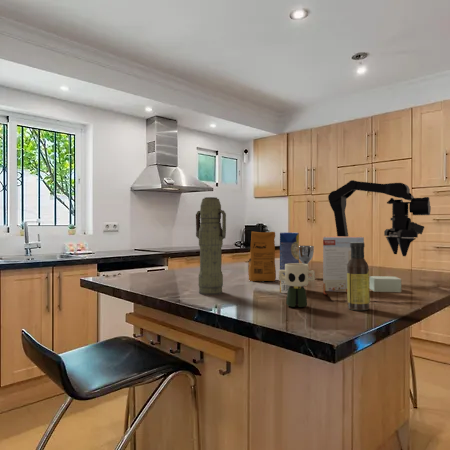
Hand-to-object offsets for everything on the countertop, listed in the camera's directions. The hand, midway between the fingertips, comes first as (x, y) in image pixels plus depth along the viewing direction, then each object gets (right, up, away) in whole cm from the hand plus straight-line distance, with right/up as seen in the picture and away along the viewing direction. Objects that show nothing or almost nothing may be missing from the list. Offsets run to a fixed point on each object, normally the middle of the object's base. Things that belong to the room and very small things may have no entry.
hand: (399, 255), depth 149 cm
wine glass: (-31, -13, +30) cm, 45 cm away
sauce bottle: (-29, -13, -35) cm, 47 cm away
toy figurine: (-46, -13, -32) cm, 58 cm away
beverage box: (-44, -13, -4) cm, 46 cm away
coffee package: (-52, -13, +22) cm, 58 cm away
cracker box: (-26, -13, -12) cm, 31 cm away
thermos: (-74, -13, -9) cm, 75 cm away
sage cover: (-11, -13, -11) cm, 20 cm away
